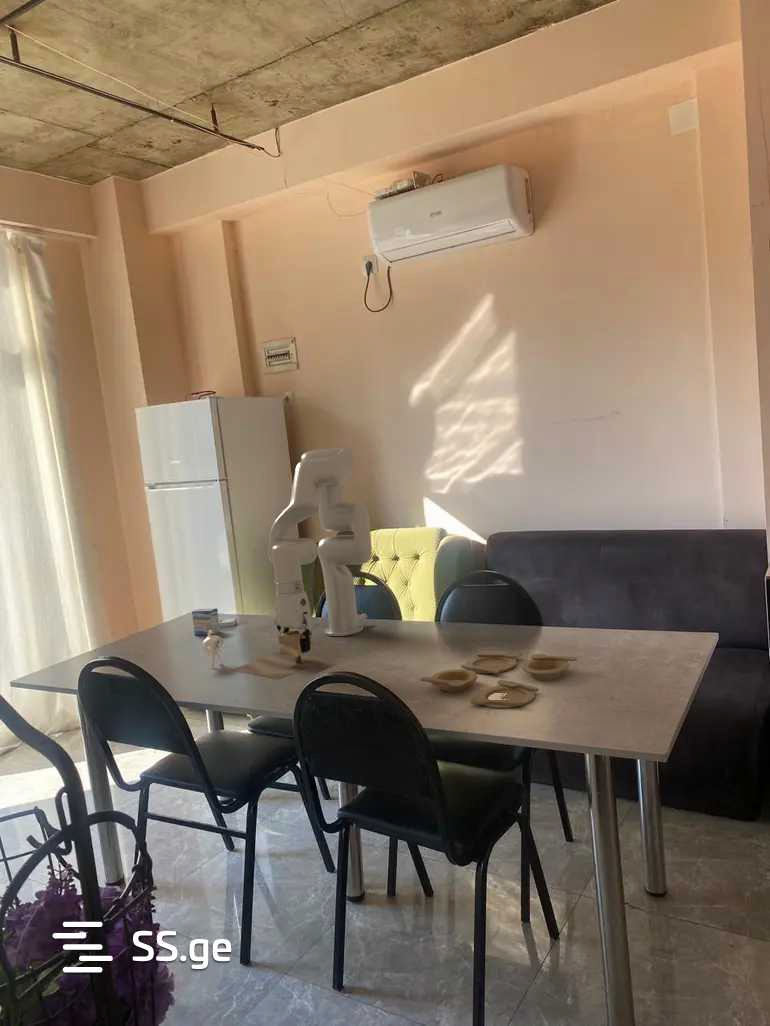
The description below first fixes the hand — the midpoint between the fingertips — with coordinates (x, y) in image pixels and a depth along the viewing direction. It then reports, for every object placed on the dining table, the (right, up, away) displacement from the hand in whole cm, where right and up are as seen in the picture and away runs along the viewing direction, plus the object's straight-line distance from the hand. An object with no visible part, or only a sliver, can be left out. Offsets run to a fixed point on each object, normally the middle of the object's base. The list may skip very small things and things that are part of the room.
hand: (296, 649), depth 212 cm
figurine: (-24, -7, +6) cm, 26 cm away
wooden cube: (0, -1, 0) cm, 1 cm away
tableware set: (+53, -3, -28) cm, 60 cm away
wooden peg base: (-5, -6, 0) cm, 8 cm away
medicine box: (-37, -4, +52) cm, 64 cm away
